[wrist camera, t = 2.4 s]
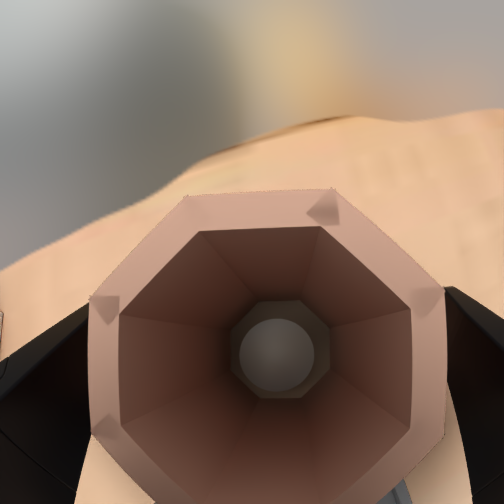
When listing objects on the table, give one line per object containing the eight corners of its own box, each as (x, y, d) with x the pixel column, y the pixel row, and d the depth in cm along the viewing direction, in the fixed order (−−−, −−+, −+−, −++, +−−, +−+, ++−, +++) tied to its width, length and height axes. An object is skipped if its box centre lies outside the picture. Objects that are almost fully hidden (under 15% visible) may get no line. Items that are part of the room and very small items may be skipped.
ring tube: (191, 349, 14) (38, 357, 5) (278, 261, 15) (257, 129, 5) (301, 453, 12) (312, 606, 3) (389, 364, 13) (537, 396, 3)
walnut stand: (400, 389, 14) (443, 409, 9) (230, 461, 14) (207, 506, 9) (326, 227, 16) (339, 183, 11) (163, 299, 16) (114, 283, 11)
